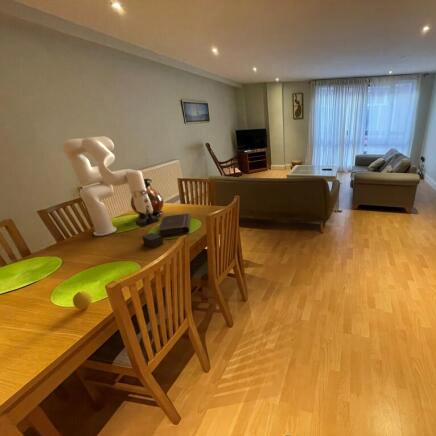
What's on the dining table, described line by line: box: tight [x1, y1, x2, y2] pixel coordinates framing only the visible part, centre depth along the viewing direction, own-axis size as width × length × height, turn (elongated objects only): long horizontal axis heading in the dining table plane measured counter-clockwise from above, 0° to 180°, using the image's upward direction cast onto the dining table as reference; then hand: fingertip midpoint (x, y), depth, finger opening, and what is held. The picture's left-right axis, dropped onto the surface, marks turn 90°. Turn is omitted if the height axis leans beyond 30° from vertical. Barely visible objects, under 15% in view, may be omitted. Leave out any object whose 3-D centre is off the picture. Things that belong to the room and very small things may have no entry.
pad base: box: [142, 239, 164, 249], centre depth 143 cm, size 10×6×3 cm, turn 58°
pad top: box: [134, 216, 160, 228], centre depth 139 cm, size 10×6×3 cm, turn 148°
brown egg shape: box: [72, 290, 93, 310], centre depth 93 cm, size 6×6×8 cm
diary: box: [157, 213, 191, 238], centre depth 164 cm, size 19×25×5 cm
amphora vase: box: [130, 178, 165, 219], centre depth 181 cm, size 22×22×28 cm
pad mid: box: [141, 232, 163, 244], centre depth 142 cm, size 10×6×3 cm, turn 58°
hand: (147, 222), depth 140 cm, fingers closed on pad top, 6 cm apart
